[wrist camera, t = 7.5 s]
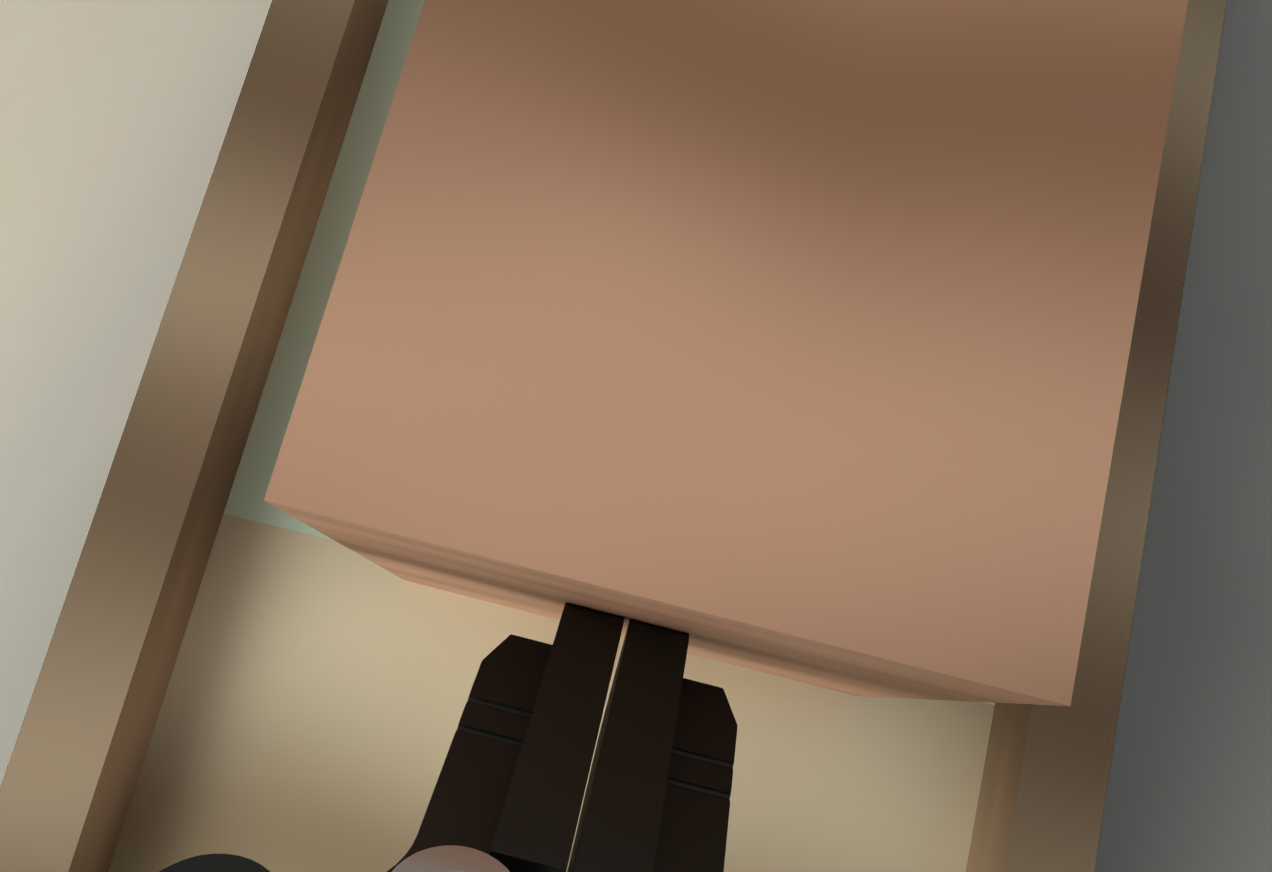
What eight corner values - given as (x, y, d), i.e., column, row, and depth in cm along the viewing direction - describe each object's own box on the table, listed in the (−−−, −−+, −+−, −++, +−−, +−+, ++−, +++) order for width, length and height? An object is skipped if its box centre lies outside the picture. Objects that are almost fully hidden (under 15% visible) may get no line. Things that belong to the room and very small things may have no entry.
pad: (945, 702, 20) (994, 706, 18) (266, 533, 20) (223, 513, 18) (1046, 151, 22) (1102, 86, 20) (433, 2, 23) (415, -82, 20)
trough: (815, 1879, 17) (885, 2243, 13) (-164, 1628, 17) (-389, 1912, 13) (1153, -104, 24) (1266, -259, 20) (456, -273, 24) (431, -461, 20)
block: (855, 695, 18) (1070, 706, 10) (404, 580, 18) (263, 500, 10) (978, 103, 20) (1233, -274, 12) (573, 2, 20) (565, -439, 12)
